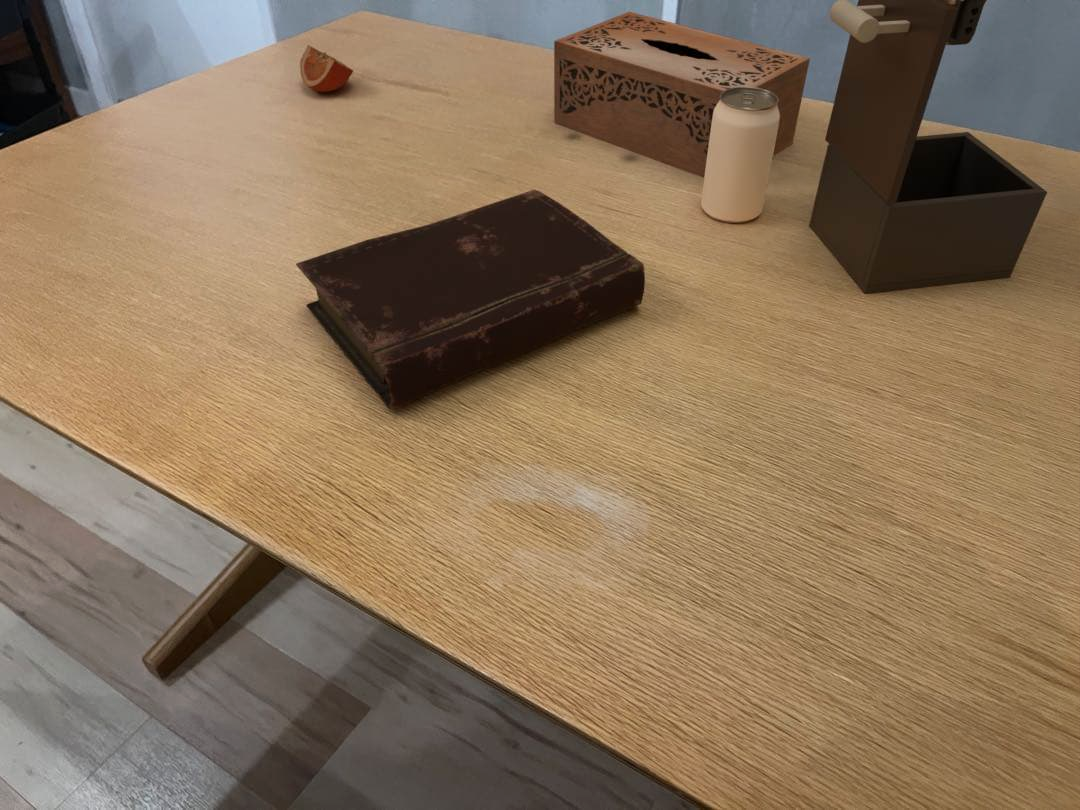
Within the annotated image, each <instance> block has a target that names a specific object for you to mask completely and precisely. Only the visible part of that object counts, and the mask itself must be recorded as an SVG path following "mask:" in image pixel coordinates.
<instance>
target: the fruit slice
mask: <svg viewBox="0 0 1080 810" xmlns="http://www.w3.org/2000/svg"><path fill="white" fill-rule="evenodd" d="M299 64H300V66H299V69H300V77H301V80H302V82H303V84H305V86H306V87H308V88H309V89H311V90H313V91H315V92H319V93H329V92H333V91H336V90H338V89H340V88H341V87H342V86H343V85H345V84H346V83H347V82H348V81H349V79H350V78H351V76H352V74H353V73H354V70H353V69H352V68H350V67H349V66H348V65H346V64H345V63H343V62H341V61H339V60H338V59H336V58H335V57H333V56H330V55H328V54H327V51H324V52H322V51H320V50H318V49H317V48H315V47H313V46H311V45H309V44H308V45H307V46H306V47H305V50H304V53H303V54H302V57H301V58H300V61H299Z"/></svg>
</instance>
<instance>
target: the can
mask: <svg viewBox="0 0 1080 810" xmlns="http://www.w3.org/2000/svg"><path fill="white" fill-rule="evenodd" d="M778 101H779V99H778V97H777V96H776V95H775V94H774V93H772V92H770V91H768V90H765V89H761V88H756V87H734V88H730V89H727V90H725V91H723V92H722V93H721V94H720V100H719V102H718V104H717V105H716V107H715V109H714V112H713V117H712V124H711V131H710V138H709V146H708V153H707V161H706V169H705V176H704V177H703V183H702V184H703V185H702V193H701V200H700V201H701V202H700V205H701V208H702V210H703V211H704V212H705V214H706V215H707V216H708V217H710V218H712V219H714V220H715V221H718V222H722V223H729V224H743V223H747V222H751V221H753V220H755V219H756V218H758V216H759V215H761V213H762V212H763V209H764V204H765V200H766V195H767V194H766V193H767V190H768V189H767V188H768V185H769V179H770V173H771V167H772V162H773V158H774V155H773V153H774V147H775V142H776V137H777V131H778V126H779V119H780V113H779V110H778V106H777V104H778Z"/></svg>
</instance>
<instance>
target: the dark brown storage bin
mask: <svg viewBox="0 0 1080 810" xmlns="http://www.w3.org/2000/svg"><path fill="white" fill-rule="evenodd" d="M824 155H825V156H824V159H823V163H822V167H821V168H822V169H821V173H820V176H819V181H818V184H817V190H816V194H815V199H814V203H813V207H812V210H811V211H812V212H811V216H810V220H809V224H808V226H809V227H810V229H811V230H812V231H813V232H814V233H815V235H816V236H817V237H818V238H819V240H820V241H821V242H822V243H823V245H824V246H825V247H826V248H827V250H829V252H830V253H831V254H832V256H834V258H835V260H836V261H837V262H838V263H839V264H840V266H841V267H842V268H843V269H844V270H845V272H846V273H847V274H848V275H849V277H850V278H851V279H852V280H853V281H854V282H855V284H856V285H857V287H859V289H860V290H861V292H863V294H873V293H882V292H892V291H899V290H900V291H901V290H911V289H918V288H926V287H935V286H944V285H953V284H963V283H970V282H971V283H972V282H979V281H980V282H981V281H988V280H989V281H990V280H997V279H1007V278H1011V276H1012V274H1013V271H1014V269H1015V267H1016V265H1017V263H1018V260H1019V258H1020V256H1021V253H1022V251H1023V249H1024V247H1025V244H1026V242H1027V240H1028V237H1029V235H1030V232H1031V231H1032V228H1033V226H1034V224H1035V222H1036V219H1037V217H1038V214H1039V212H1040V210H1041V208H1042V205H1043V203H1044V202H1045V199H1046V196H1047V194H1048V191H1047V190H1046V189H1045V188H1043V187H1042V186H1041V185H1039V184H1038V183H1036V182H1035V181H1034V180H1032V179H1031V178H1030V177H1029V176H1027V175H1026V174H1024V172H1022V171H1021V170H1020V169H1018V168H1017V167H1016V166H1014V165H1013V164H1011V163H1010V162H1009V161H1007V160H1006V159H1004V158H1003V157H1002V156H1001V155H999V154H998V153H997V152H996V151H994V150H993V149H991V148H990V147H989V146H988V145H986V144H985V143H984V142H982V141H981V140H980V139H978V138H977V137H976V136H975V135H973V134H972V133H970V132H969V131H963V132H962V131H961V132H952V133H940V134H939V133H938V134H930V135H920V136H919V135H917V138H916V141H915V144H914V147H913V150H912V153H911V157H910V160H909V163H908V166H907V169H906V172H905V176H904V179H903V182H902V185H901V188H900V191H899V195H898V198H897V201H896V202H891V203H888V202H887V201H886V200H885V199H884V198H883V197H882V196H881V195H880V194H879V193H878V192H877V191H876V190H875V189H874V188H873V187H872V186H871V185H870V184H869V183H868V182H867V181H866V180H865V179H864V178H863V177H862V176H861V175H860V174H859V173H858V172H857V171H856V170H855V169H854V168H853V167H852V166H851V165H850V164H849V163H848V162H847V161H846V160H845V159H844V158H843V157H842V156H841V155H840V154H839V153H838V152H837V151H836V150H835V149H834V148H833V147H832V146H831V145H830V144H829V143H828V144H827V147H826V151H825V154H824Z"/></svg>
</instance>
